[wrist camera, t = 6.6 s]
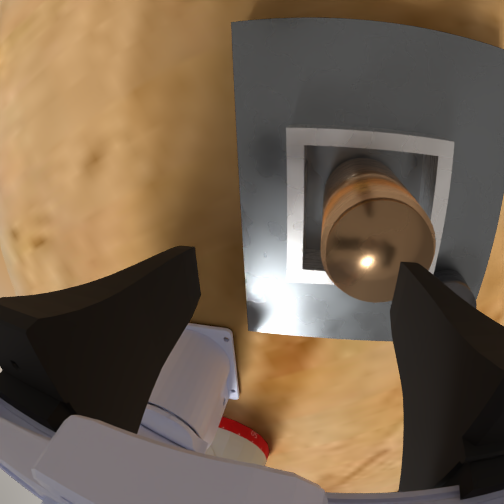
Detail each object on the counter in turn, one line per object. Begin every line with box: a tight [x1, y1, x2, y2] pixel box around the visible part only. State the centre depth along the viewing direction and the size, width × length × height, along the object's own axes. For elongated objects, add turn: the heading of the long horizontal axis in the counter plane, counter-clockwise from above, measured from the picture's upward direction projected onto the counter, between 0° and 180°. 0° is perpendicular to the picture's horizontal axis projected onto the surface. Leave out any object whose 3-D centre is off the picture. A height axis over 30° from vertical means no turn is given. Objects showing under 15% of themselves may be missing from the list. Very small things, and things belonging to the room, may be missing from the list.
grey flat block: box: [231, 18, 504, 341], centre depth 17 cm, size 20×16×5 cm
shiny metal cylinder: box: [320, 158, 436, 303], centre depth 14 cm, size 4×4×7 cm
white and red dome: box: [205, 417, 269, 466], centre depth 30 cm, size 14×14×15 cm
